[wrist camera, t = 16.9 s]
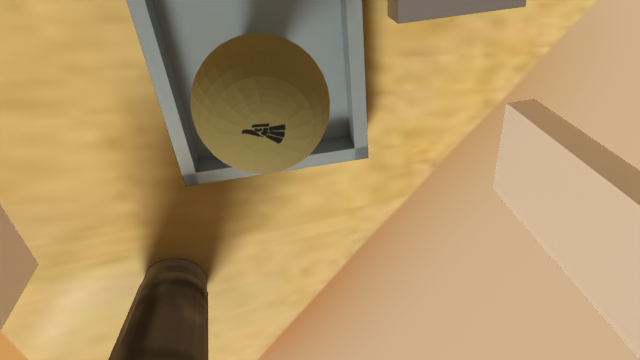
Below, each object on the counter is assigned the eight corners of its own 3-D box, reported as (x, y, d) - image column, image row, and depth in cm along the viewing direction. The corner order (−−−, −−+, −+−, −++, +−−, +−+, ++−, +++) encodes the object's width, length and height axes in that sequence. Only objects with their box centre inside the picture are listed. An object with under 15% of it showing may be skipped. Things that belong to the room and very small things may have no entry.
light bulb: (296, -9, 22) (325, 37, 14) (318, 92, 25) (353, 181, 17) (191, 17, 22) (153, 79, 13) (225, 115, 25) (212, 216, 16)
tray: (119, -70, 20) (104, -68, 18) (347, -96, 21) (357, -97, 19) (190, 165, 27) (185, 186, 25) (359, 139, 28) (368, 157, 26)
